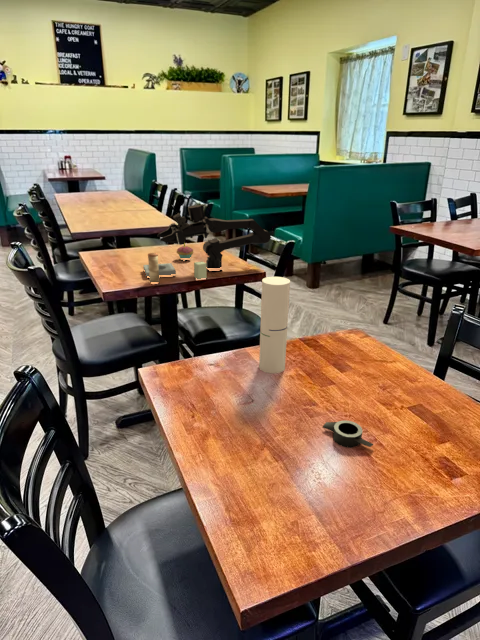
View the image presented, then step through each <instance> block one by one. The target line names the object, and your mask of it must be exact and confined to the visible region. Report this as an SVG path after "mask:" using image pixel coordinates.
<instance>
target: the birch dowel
mask: <svg viewBox="0 0 480 640" xmlns="http://www.w3.org/2000/svg"><path fill="white" fill-rule="evenodd" d="M147 259H148V261H147V262H148V265H149V277H150V279H149V283H150V282H159V283H160V278H159V268H158V264H159V254H158V252H150V253H148V254H147Z"/></svg>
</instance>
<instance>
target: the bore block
mask: <svg viewBox="0 0 480 640" xmlns="http://www.w3.org/2000/svg"><path fill="white" fill-rule="evenodd" d="M158 268H159V275H171V274H176V275H177V272H176V269H175V267H174V265H173V263H172V262H171V263H169V262H168V263H158ZM144 270H145V273H146V275H145V277H146V276H149V264H143V271H144ZM145 273H144V274H145Z"/></svg>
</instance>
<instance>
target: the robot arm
mask: <svg viewBox="0 0 480 640" xmlns="http://www.w3.org/2000/svg"><path fill="white" fill-rule="evenodd" d="M187 207H188V208H187V210H188V214H189V218H190V219H189V220H190V221H192V223H189V222H187V218H186V217H185V216H182V215H181V213H180V212H177V214H174V215H173V216H172V218H173V220H175V221H176V223H175V222H173V223H170V224H169V225H168V228H167V229H165V230H164V231H163V230H162V232H160V233H158V234H157V237H158V238H159V240H160V242H164V243H170V244H174V245H179V246H181V245H184V243H185V242H186V239H193V238H194V237H198V236H201V235H202V236H203V238H204V239H207V238H208V236H209V234H210V233H213V234H216V233H221V232H224V231H227V230H236V229H237V230H239V229H240V230H242V229H243V230H244V229H250V230H251V231H252V232H251V233H249V234H245V235H241V236H238V237H237V236H236V237H233V238H230V239H229V238H228V239H225V240H219V239H217V238H216V237H215V238H212V239H207V241H205V242H204V244H203V245H202V250H203V251H204V253H206V255H207V257H206V261H205V263H206V267H207V268H220V267H222V268H223V266H222V265H223V264H222V263H223V261H222V259H223V254H222V252H223V251H225V250H230V249H233V248H238V247H243V246H247V245H250V244H268V243H269V242H270V240H271V238H272V235H271V233H270V232H269V231H268V230H265V229H264V228H263V227H262V226H261V225H260V224H258V223H257V221H256V220H255V219H253V218H248V219H229V220H228V219H227V220H225V219H221V218H215V217H214V218H213V217H211V218H208V217H207V216H206V215H205V209H204V208H205V207H204V205H203V204H196V205H195V204H194V205H190V206H187ZM204 224H205V225H204ZM208 231H209V232H210V233H209V232H208ZM185 244H186V243H185Z"/></svg>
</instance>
